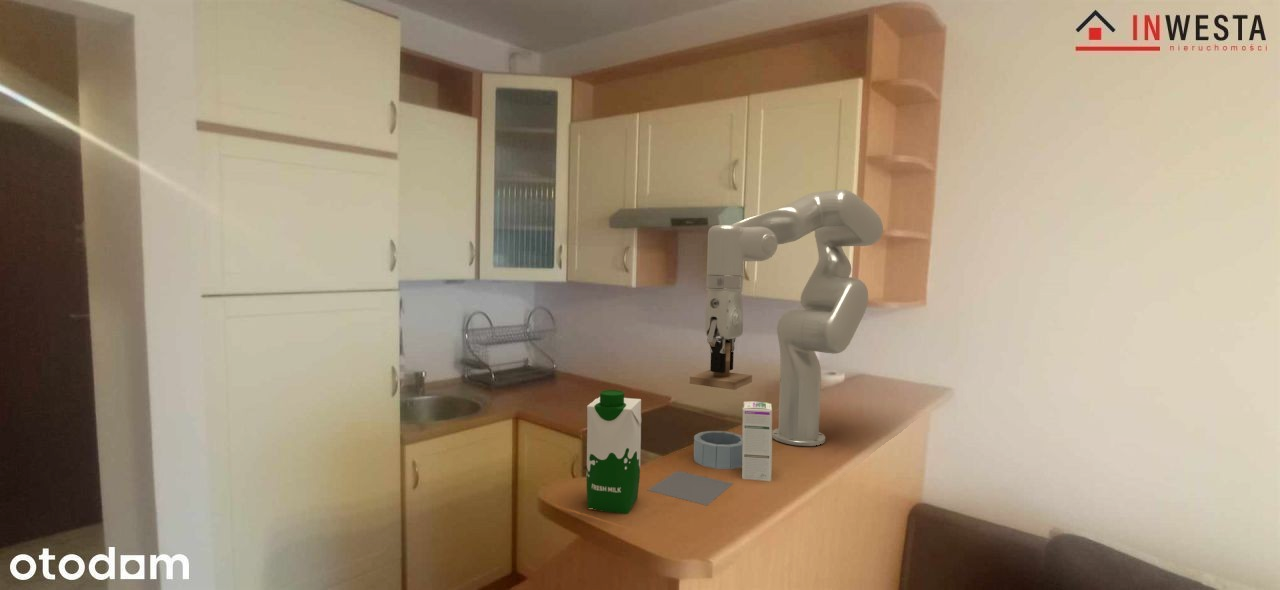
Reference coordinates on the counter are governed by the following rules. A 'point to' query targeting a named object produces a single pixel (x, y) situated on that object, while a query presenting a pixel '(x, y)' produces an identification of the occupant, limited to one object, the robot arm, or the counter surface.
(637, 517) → the counter surface
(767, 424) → the syrup box
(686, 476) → the mat
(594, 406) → the milk carton
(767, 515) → the counter surface
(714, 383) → the lid
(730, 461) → the bowl
